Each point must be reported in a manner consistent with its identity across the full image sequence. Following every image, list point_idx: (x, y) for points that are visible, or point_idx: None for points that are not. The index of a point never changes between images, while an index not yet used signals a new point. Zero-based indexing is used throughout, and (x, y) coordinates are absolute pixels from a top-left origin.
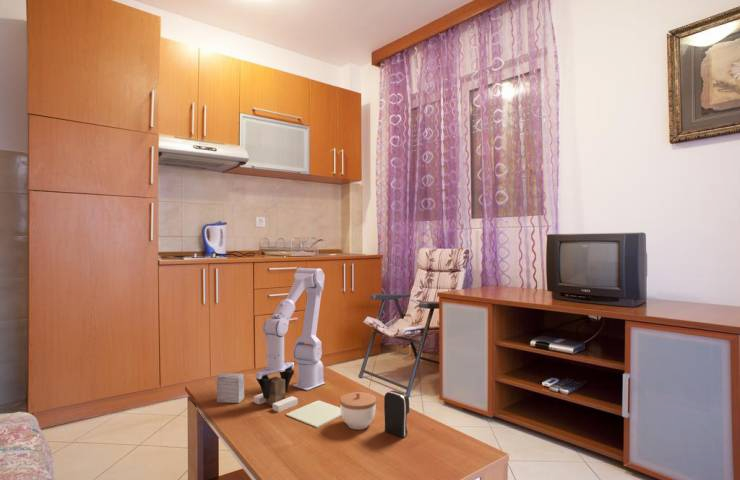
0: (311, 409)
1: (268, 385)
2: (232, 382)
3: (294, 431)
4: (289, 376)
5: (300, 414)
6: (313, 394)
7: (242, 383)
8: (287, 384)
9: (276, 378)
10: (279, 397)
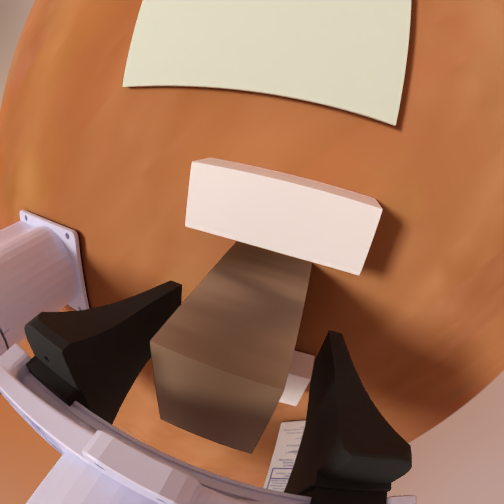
0: (248, 17)
1: (356, 409)
2: None
3: (496, 7)
4: (91, 328)
5: (352, 31)
6: (83, 176)
7: (285, 479)
8: (145, 303)
9: (184, 409)
10: (270, 279)
